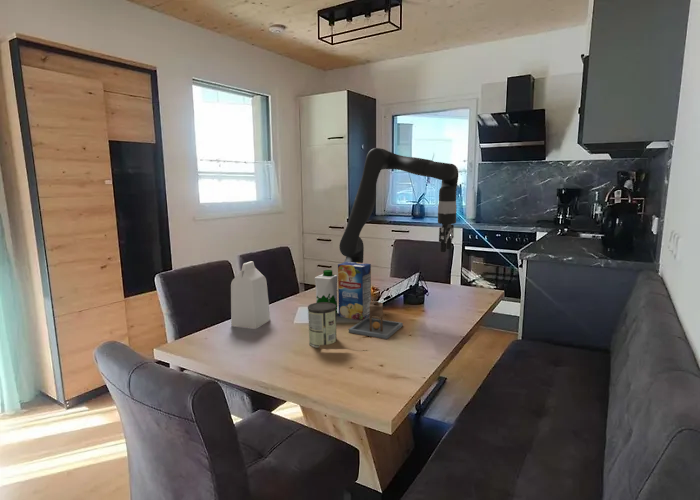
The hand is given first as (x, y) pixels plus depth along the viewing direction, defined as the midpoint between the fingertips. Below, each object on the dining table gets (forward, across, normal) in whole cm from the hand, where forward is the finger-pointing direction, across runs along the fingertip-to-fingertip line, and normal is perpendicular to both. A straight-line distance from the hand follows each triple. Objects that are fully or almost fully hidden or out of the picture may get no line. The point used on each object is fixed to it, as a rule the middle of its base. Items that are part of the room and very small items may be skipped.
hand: (446, 250), depth 179 cm
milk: (+30, +43, -71) cm, 88 cm away
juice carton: (+30, +19, -34) cm, 49 cm away
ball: (+27, +30, -19) cm, 44 cm away
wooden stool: (+28, +30, -19) cm, 45 cm away
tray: (+29, +30, -19) cm, 46 cm away
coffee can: (+30, +49, -32) cm, 66 cm away
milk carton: (+30, +21, -47) cm, 59 cm away
